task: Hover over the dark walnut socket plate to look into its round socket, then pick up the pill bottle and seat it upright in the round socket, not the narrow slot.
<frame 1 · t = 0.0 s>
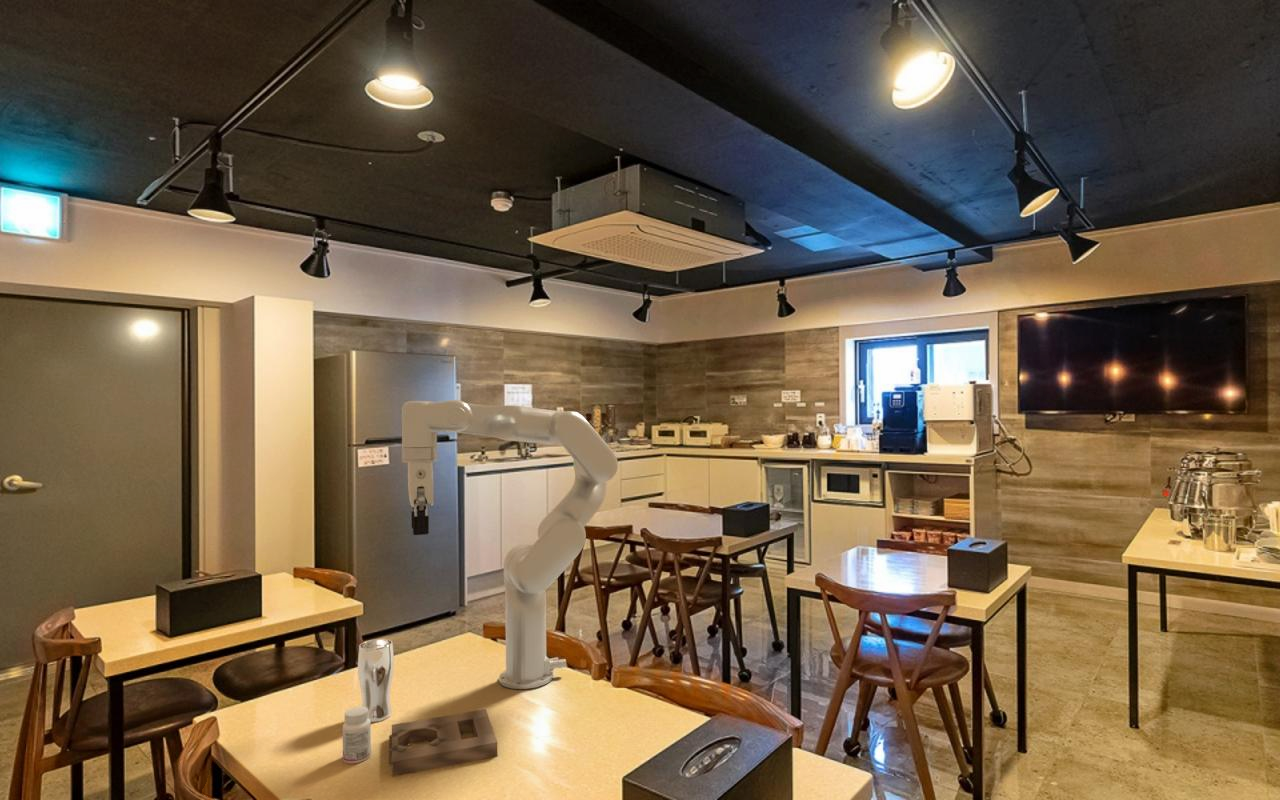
hand: (419, 531, 147), 37 cm above the table, tool pointing down, fingers open, 9 cm apart
beer glass: (376, 717, 136), on the table
pill bottle: (356, 758, 119), on the table
socket plate: (442, 746, 123), on the table
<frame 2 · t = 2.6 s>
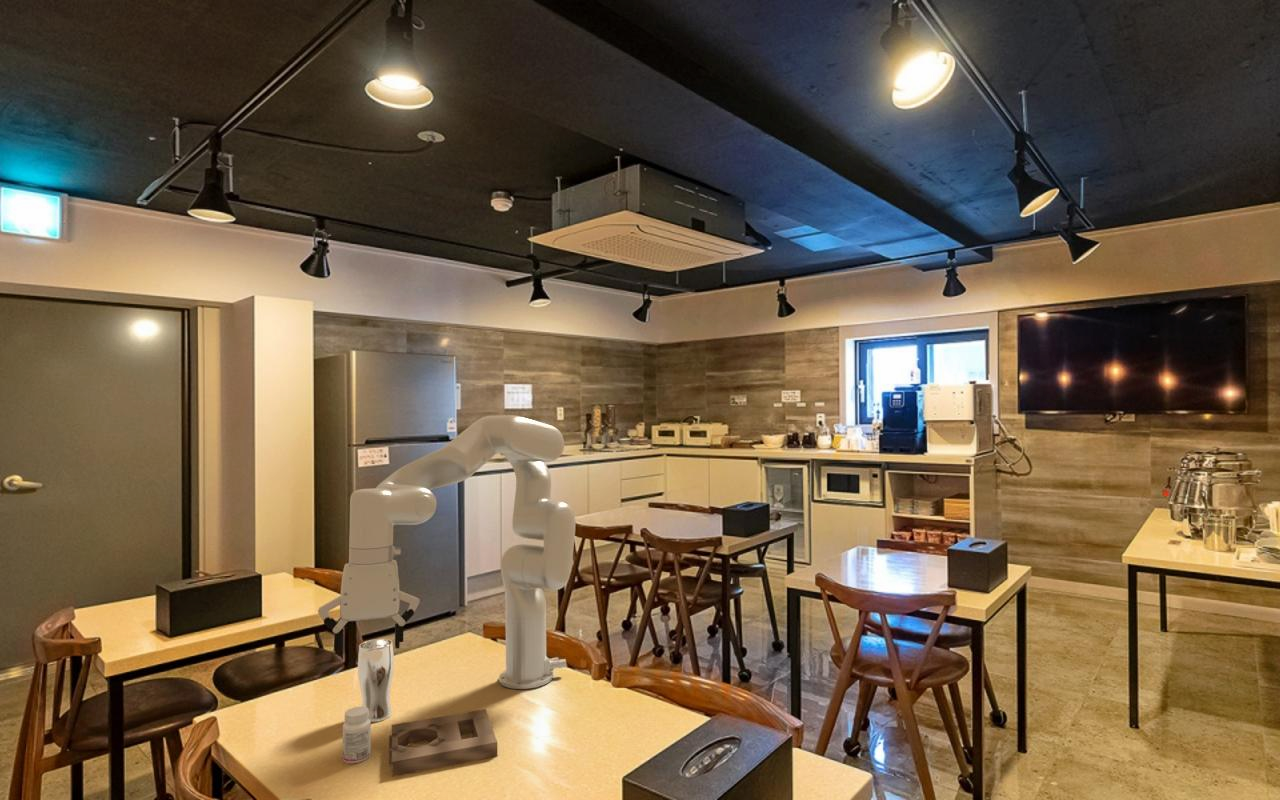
hand: (369, 649, 120), 19 cm above the table, tool pointing down, fingers open, 9 cm apart
nothing on the table moved.
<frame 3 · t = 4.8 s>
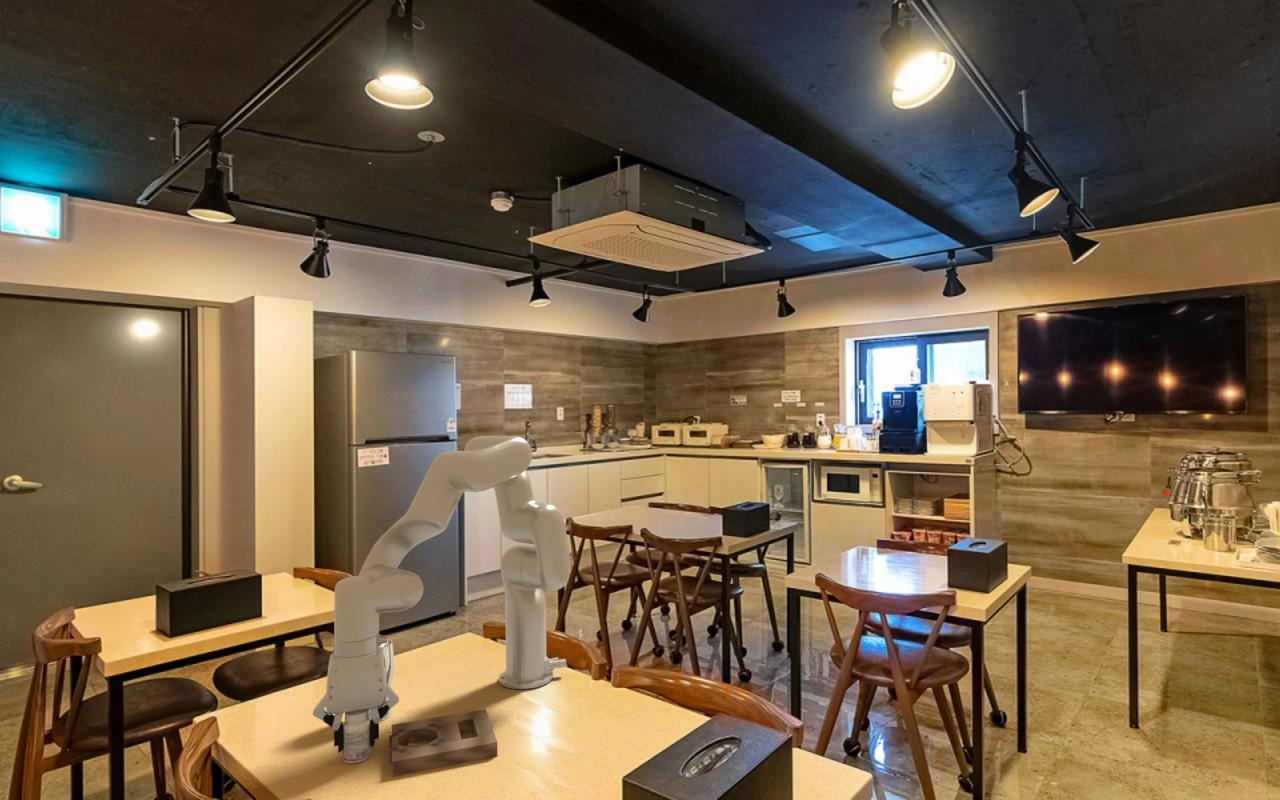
hand: (356, 745, 119), 2 cm above the table, tool pointing down, fingers closed on pill bottle, 4 cm apart
pill bottle: (356, 758, 119), on the table, touching gripper
everything else where it was.
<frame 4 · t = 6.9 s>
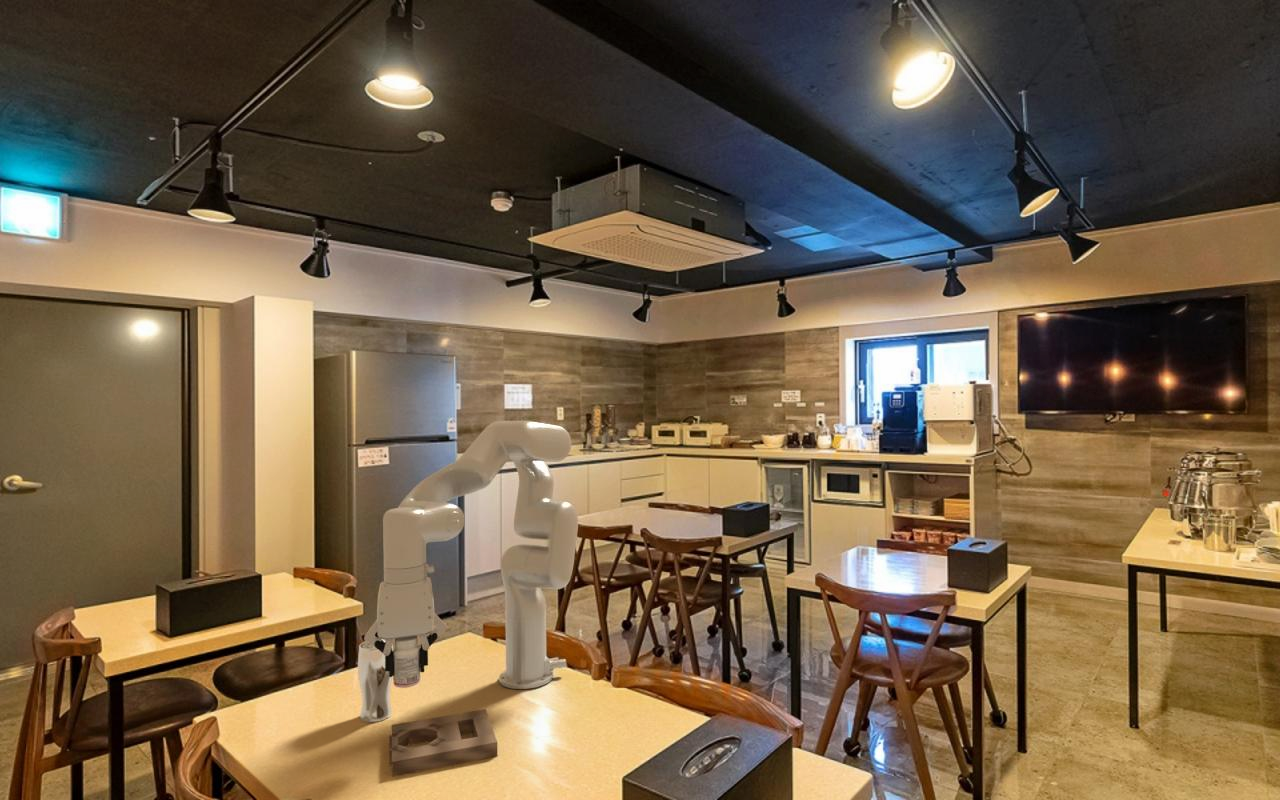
hand: (406, 671, 122), 15 cm above the table, tool pointing down, fingers closed on pill bottle, 4 cm apart
pill bottle: (406, 684, 122), point 12 cm above the table, touching gripper
everything else where it was.
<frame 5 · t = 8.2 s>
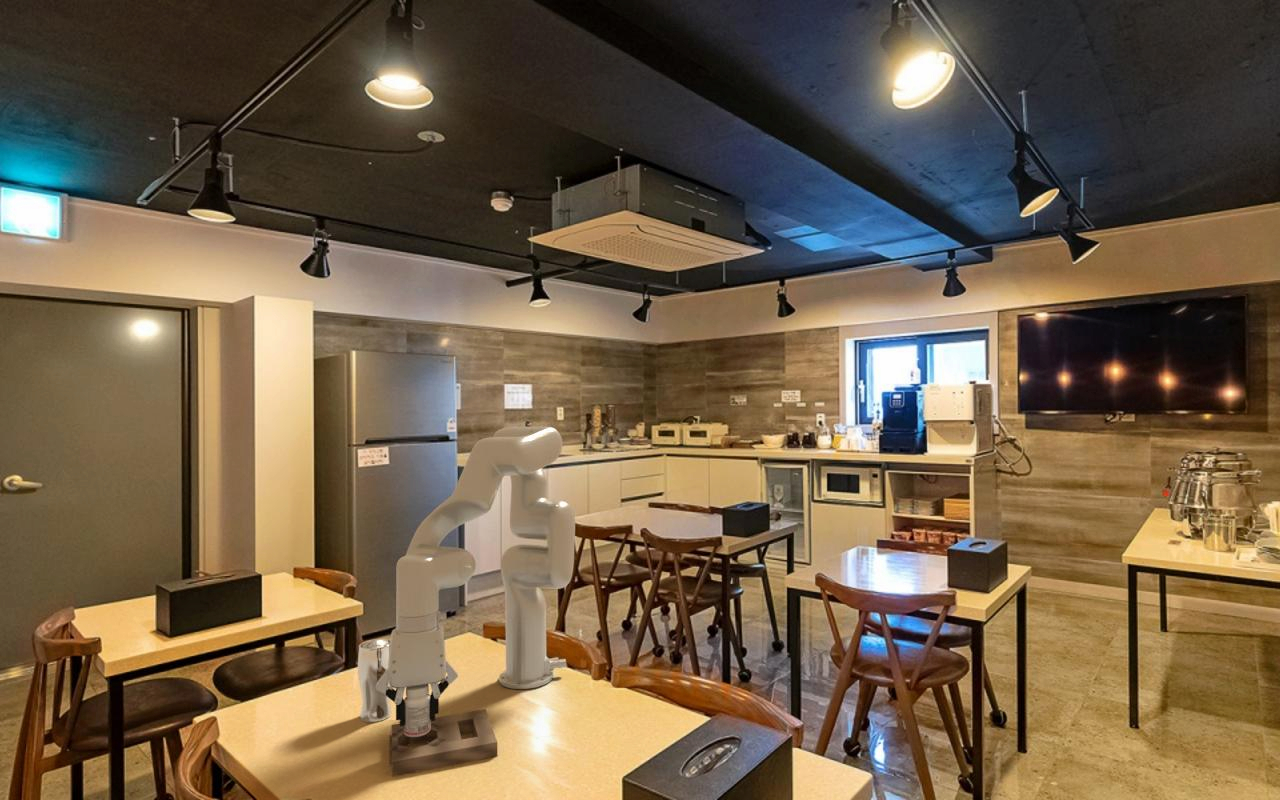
hand: (417, 719, 121), 6 cm above the table, tool pointing down, fingers closed on pill bottle, 4 cm apart
pill bottle: (417, 732, 121), point 3 cm above the table, touching gripper
everything else where it was.
when the fingers open (3 cm above the table, at t = 9.1 s): pill bottle stays where it is, resting in socket plate.
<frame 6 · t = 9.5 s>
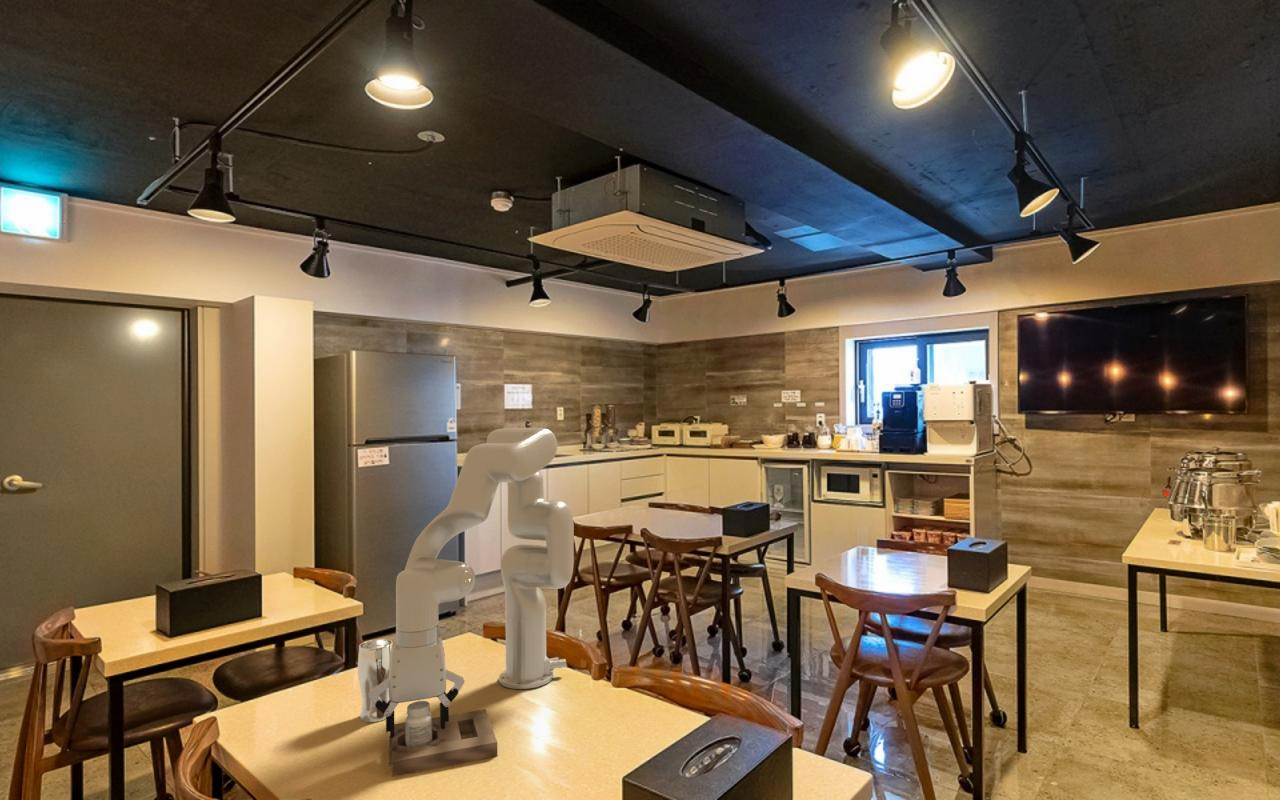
hand: (417, 730, 121), 4 cm above the table, tool pointing down, fingers open, 8 cm apart
pill bottle: (418, 752, 121), resting in socket plate
everything else where it was.
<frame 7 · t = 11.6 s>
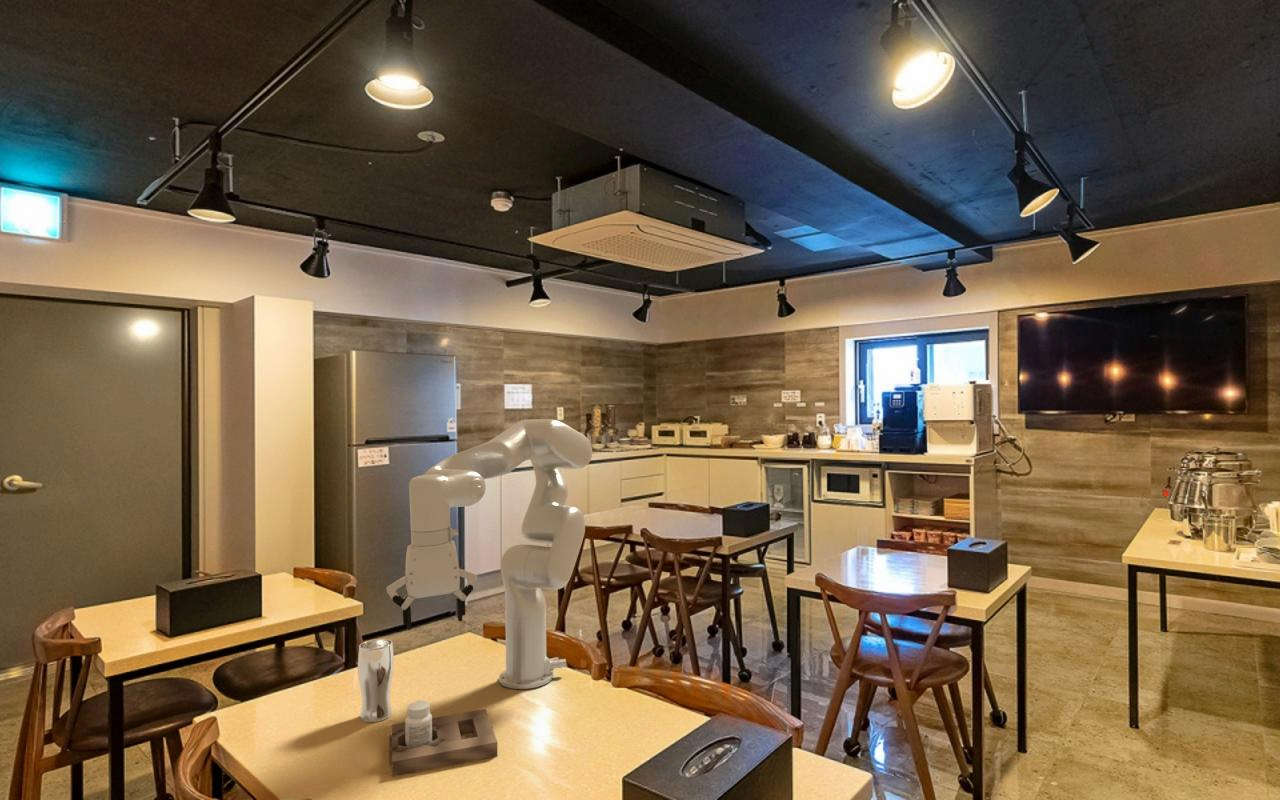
hand: (434, 623, 129), 21 cm above the table, tool pointing down, fingers open, 9 cm apart
nothing on the table moved.
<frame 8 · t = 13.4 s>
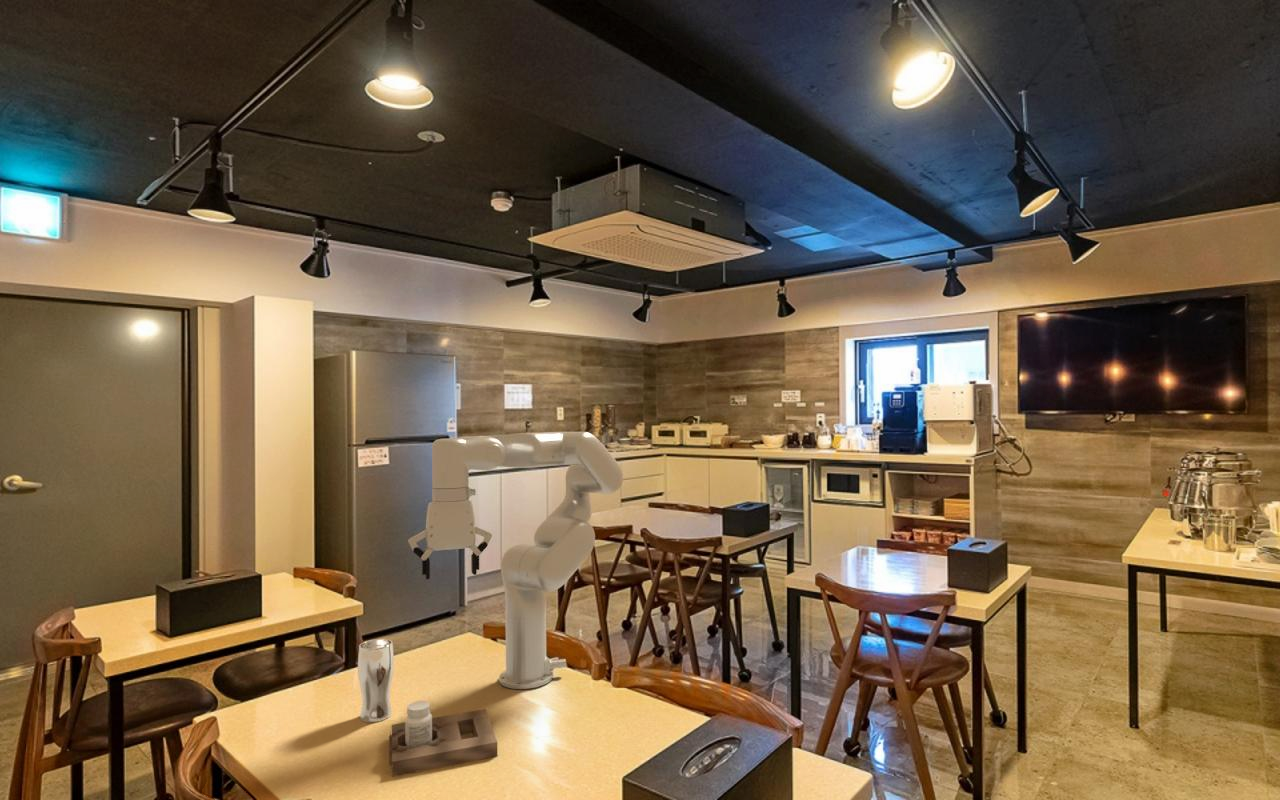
hand: (451, 575, 140), 28 cm above the table, tool pointing down, fingers open, 9 cm apart
nothing on the table moved.
at the end: pill bottle 0.2 cm from the target spot on the socket plate, point 0.0 cm above the socket plate's base; pill bottle tilted 0°; the gripper is holding nothing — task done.
